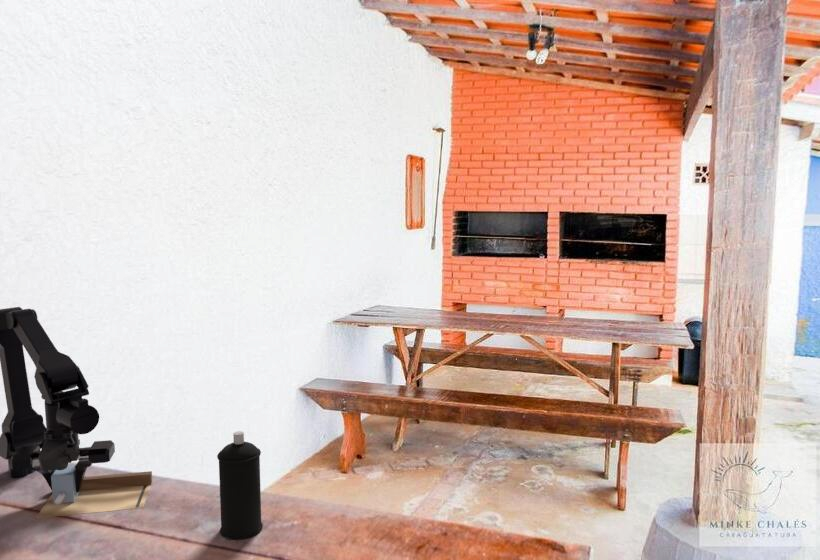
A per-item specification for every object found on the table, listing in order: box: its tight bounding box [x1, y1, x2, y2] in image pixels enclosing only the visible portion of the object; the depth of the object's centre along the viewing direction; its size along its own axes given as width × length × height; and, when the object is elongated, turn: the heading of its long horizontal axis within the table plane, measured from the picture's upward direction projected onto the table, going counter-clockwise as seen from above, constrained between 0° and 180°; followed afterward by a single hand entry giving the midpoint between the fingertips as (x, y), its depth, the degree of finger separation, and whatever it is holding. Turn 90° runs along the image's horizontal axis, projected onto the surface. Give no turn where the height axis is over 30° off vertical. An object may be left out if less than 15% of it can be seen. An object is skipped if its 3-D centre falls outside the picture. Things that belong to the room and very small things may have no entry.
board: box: [35, 470, 153, 519], centre depth 137 cm, size 12×20×4 cm, turn 103°
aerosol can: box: [216, 430, 264, 541], centre depth 127 cm, size 8×8×20 cm
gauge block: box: [51, 464, 81, 505], centre depth 135 cm, size 8×4×6 cm, turn 13°
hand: (66, 492), depth 137 cm, fingers closed on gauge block, 4 cm apart
